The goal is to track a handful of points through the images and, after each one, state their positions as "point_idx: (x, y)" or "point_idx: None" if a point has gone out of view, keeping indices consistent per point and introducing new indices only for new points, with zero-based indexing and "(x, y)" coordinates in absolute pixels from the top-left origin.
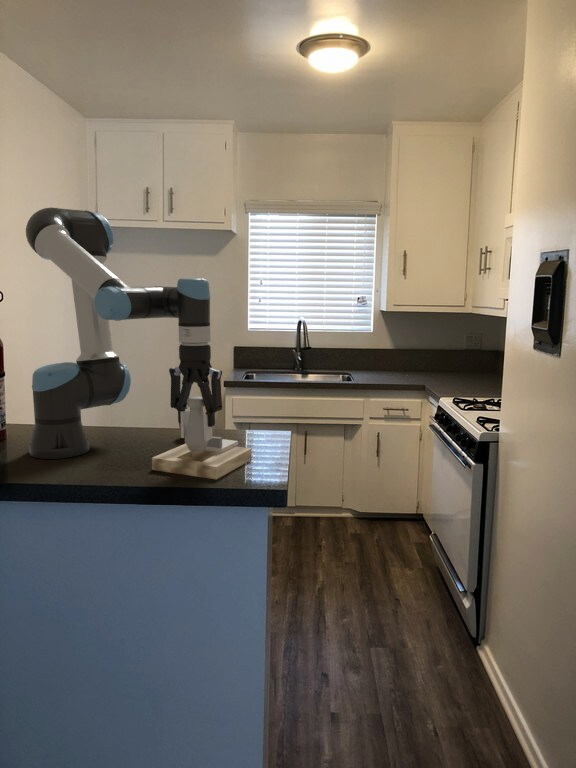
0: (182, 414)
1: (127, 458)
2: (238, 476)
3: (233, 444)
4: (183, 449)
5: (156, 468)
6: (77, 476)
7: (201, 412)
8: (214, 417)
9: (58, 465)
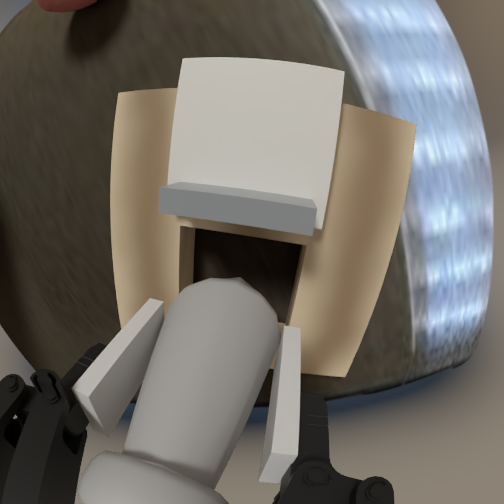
0: (111, 425)
1: (45, 238)
2: (394, 315)
3: (339, 116)
4: (144, 221)
5: None
6: (69, 359)
7: (223, 466)
8: (326, 442)
9: (16, 308)
